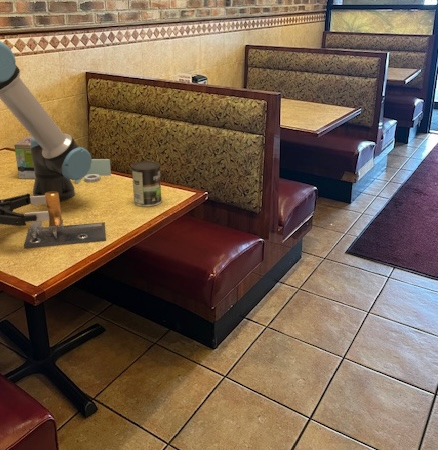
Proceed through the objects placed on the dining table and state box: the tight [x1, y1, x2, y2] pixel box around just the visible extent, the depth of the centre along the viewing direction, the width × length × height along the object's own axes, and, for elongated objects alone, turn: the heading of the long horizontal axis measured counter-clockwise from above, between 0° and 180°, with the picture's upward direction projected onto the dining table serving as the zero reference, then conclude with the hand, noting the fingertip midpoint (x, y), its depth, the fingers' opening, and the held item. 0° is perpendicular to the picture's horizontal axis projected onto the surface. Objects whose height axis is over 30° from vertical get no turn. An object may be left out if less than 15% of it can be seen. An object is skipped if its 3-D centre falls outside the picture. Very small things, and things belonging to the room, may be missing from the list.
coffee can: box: [130, 160, 163, 208], centre depth 182 cm, size 10×10×14 cm
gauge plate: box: [23, 221, 107, 249], centre depth 157 cm, size 12×24×4 cm, turn 103°
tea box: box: [13, 135, 35, 180], centre depth 211 cm, size 15×10×15 cm
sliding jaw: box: [45, 191, 64, 239], centre depth 154 cm, size 9×4×12 cm, turn 13°
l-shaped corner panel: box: [74, 158, 112, 185], centre depth 206 cm, size 12×12×8 cm
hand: (50, 207), depth 155 cm, fingers open, 13 cm apart
